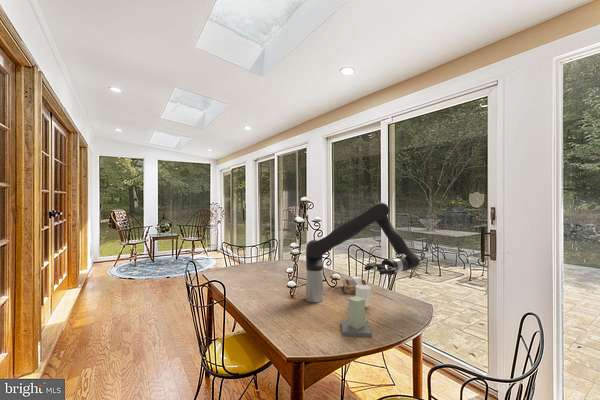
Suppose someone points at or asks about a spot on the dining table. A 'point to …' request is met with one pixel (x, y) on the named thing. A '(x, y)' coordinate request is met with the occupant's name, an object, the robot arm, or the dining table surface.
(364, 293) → the white cup
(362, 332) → the coaster
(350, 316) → the block
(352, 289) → the die frame
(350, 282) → the die
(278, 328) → the dining table surface
